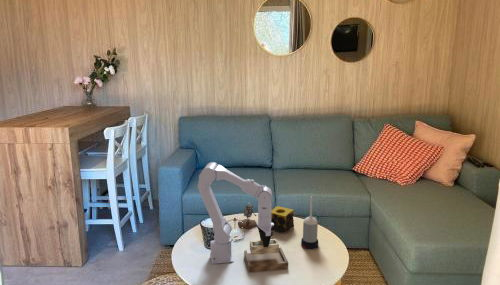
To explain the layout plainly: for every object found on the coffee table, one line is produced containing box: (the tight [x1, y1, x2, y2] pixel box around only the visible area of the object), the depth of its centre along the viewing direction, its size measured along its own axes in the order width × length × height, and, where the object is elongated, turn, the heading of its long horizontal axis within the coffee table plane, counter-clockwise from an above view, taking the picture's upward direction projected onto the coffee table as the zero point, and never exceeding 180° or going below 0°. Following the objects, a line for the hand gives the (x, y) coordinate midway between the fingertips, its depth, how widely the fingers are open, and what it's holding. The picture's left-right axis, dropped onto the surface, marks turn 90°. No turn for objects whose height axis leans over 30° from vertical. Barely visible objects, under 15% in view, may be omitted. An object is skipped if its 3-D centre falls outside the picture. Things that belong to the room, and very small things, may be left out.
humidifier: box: [300, 195, 319, 250], centre depth 178 cm, size 8×8×25 cm
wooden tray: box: [243, 247, 289, 274], centre depth 166 cm, size 17×13×3 cm
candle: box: [271, 205, 295, 235], centre depth 198 cm, size 10×10×10 cm
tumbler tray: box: [249, 238, 280, 255], centre depth 166 cm, size 12×5×4 cm, turn 100°
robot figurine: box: [237, 202, 258, 230], centre depth 201 cm, size 11×9×12 cm
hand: (264, 243), depth 166 cm, fingers closed on tumbler tray, 5 cm apart
